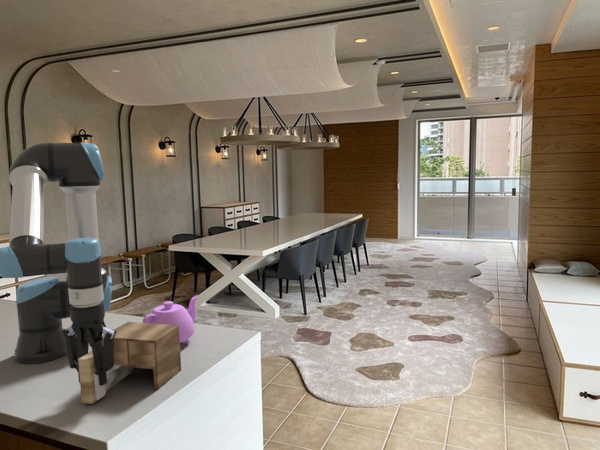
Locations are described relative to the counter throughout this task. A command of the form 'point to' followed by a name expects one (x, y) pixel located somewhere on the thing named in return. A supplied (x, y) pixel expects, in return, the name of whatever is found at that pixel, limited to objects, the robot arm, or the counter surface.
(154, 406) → the counter surface
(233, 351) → the counter surface
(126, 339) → the small wooden cabinet
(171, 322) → the teapot
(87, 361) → the wood and metal l-shape
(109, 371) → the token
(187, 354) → the counter surface
